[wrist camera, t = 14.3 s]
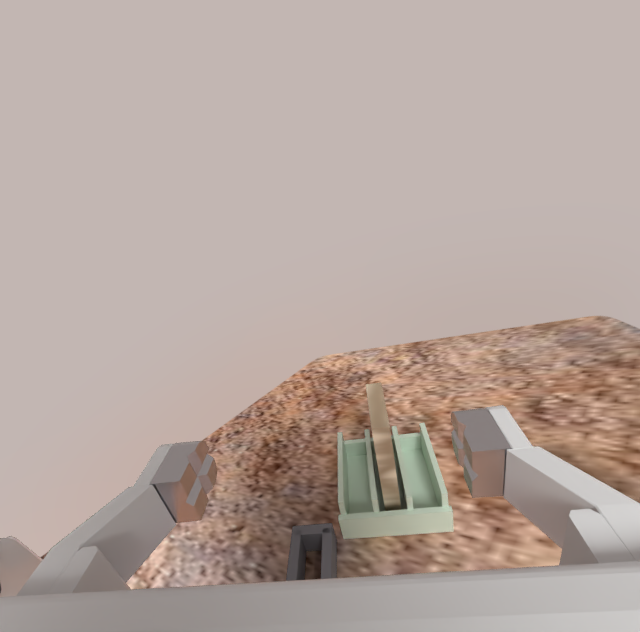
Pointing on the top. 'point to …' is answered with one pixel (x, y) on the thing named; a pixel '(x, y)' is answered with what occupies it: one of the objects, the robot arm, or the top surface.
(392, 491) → the maple board
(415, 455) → the dish rack
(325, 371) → the top surface
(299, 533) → the board stand
